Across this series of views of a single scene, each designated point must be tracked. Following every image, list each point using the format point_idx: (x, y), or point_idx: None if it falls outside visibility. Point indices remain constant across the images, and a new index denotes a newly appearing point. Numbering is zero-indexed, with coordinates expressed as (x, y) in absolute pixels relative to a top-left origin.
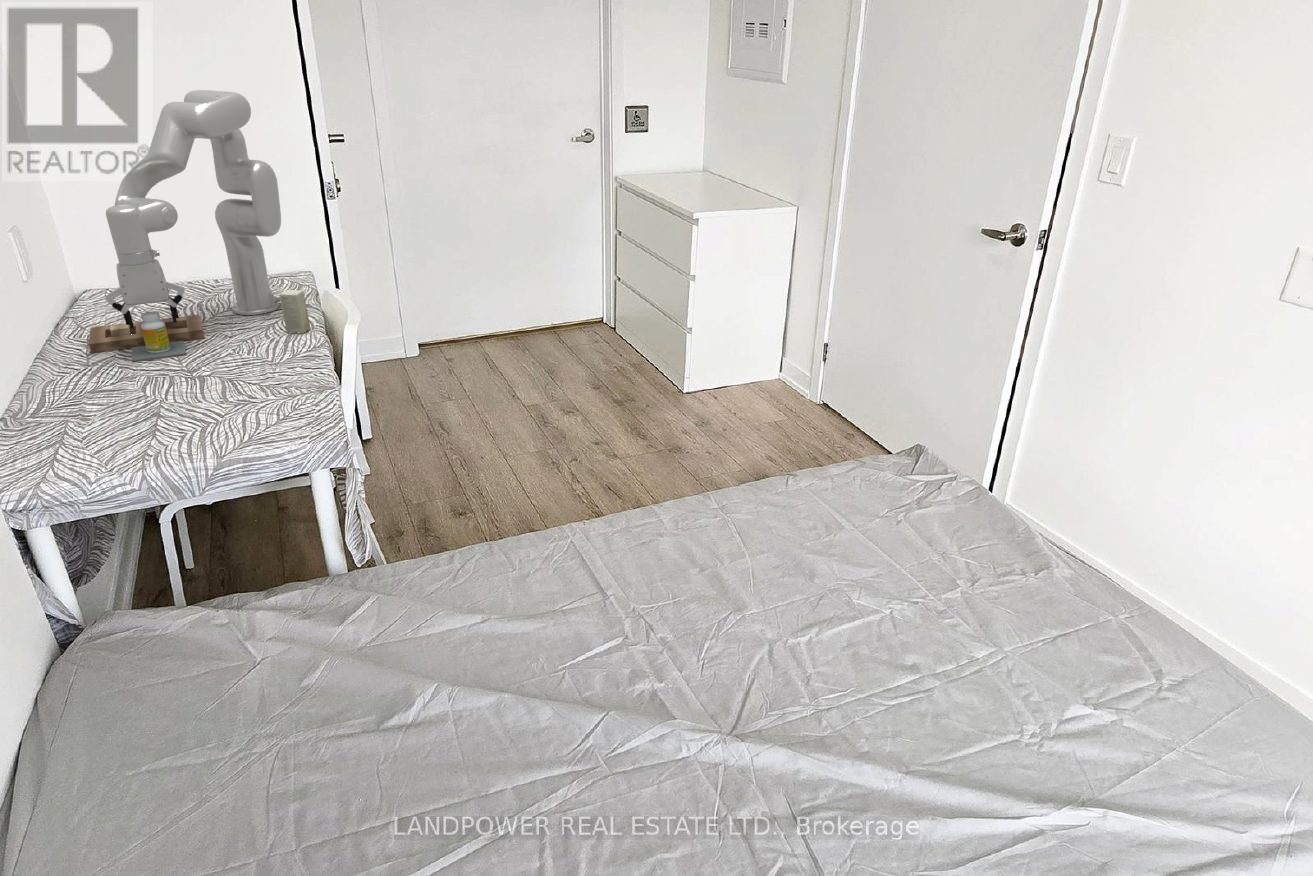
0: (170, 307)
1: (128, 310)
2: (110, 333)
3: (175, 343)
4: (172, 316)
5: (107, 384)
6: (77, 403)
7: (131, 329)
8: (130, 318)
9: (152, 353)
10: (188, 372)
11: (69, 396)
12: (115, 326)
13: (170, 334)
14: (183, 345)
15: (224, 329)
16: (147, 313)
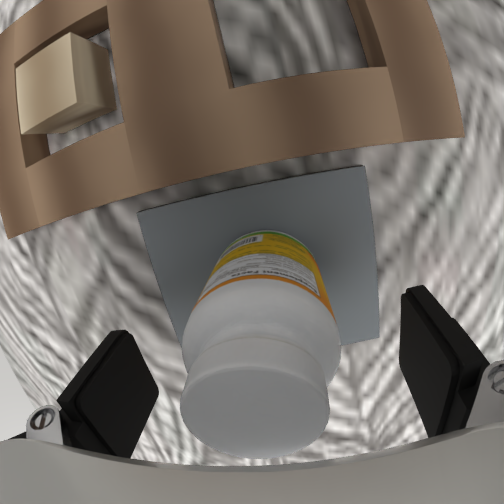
0: (442, 425)
1: (79, 418)
2: None
3: (331, 200)
4: (414, 393)
5: (185, 464)
6: None
7: (95, 19)
8: (135, 438)
9: None
10: (369, 448)
11: None
12: (30, 79)
13: (312, 153)
14: (369, 240)
15: (484, 47)
16: (230, 415)
